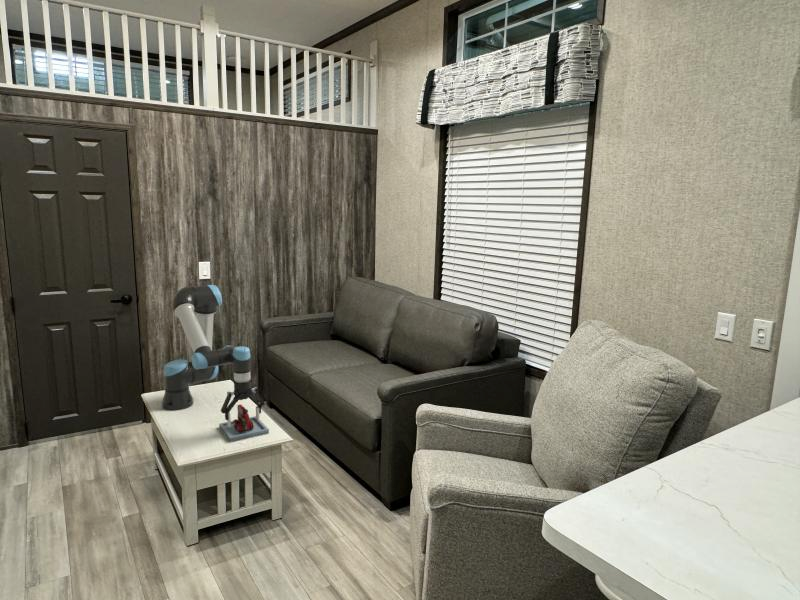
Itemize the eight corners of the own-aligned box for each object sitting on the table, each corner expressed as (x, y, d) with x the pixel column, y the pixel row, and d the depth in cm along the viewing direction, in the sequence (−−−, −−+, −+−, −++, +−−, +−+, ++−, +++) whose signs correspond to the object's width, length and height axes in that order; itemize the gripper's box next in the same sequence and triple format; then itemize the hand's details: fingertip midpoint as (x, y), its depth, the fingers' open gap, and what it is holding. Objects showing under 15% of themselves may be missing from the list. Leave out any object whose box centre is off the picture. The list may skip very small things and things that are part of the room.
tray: (219, 427, 255) (219, 423, 255) (256, 419, 265) (256, 416, 265) (230, 442, 241) (230, 437, 240) (268, 433, 251) (268, 429, 250)
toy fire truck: (240, 435, 246) (240, 413, 244) (232, 425, 256) (231, 405, 254) (255, 431, 250) (255, 410, 248) (246, 422, 260) (245, 402, 258)
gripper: (217, 387, 238) (218, 431, 242) (271, 378, 252) (271, 420, 256) (212, 382, 245) (214, 425, 249) (265, 373, 258) (266, 415, 262)
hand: (243, 423), depth 252 cm, fingers open, 13 cm apart
